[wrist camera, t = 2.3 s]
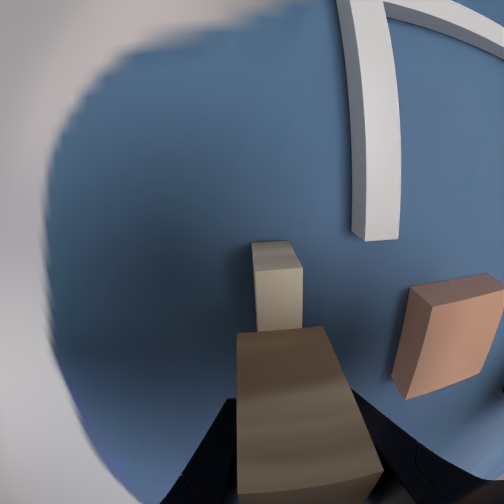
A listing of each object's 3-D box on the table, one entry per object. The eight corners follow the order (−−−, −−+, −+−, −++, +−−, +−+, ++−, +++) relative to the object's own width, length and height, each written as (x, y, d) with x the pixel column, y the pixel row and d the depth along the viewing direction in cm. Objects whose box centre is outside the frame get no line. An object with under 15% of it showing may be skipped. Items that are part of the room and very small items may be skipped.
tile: (483, 271, 14) (509, 287, 11) (460, 351, 16) (479, 373, 13) (406, 283, 14) (432, 306, 11) (388, 372, 16) (405, 400, 13)
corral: (517, 49, 9) (532, 46, 7) (525, 223, 12) (541, 230, 11) (332, -17, 8) (342, -32, 7) (351, 230, 12) (364, 241, 11)
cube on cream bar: (232, 244, 12) (222, 435, 4) (306, 239, 12) (417, 403, 4) (245, 382, 15) (252, 544, 6) (302, 377, 15) (341, 532, 6)
